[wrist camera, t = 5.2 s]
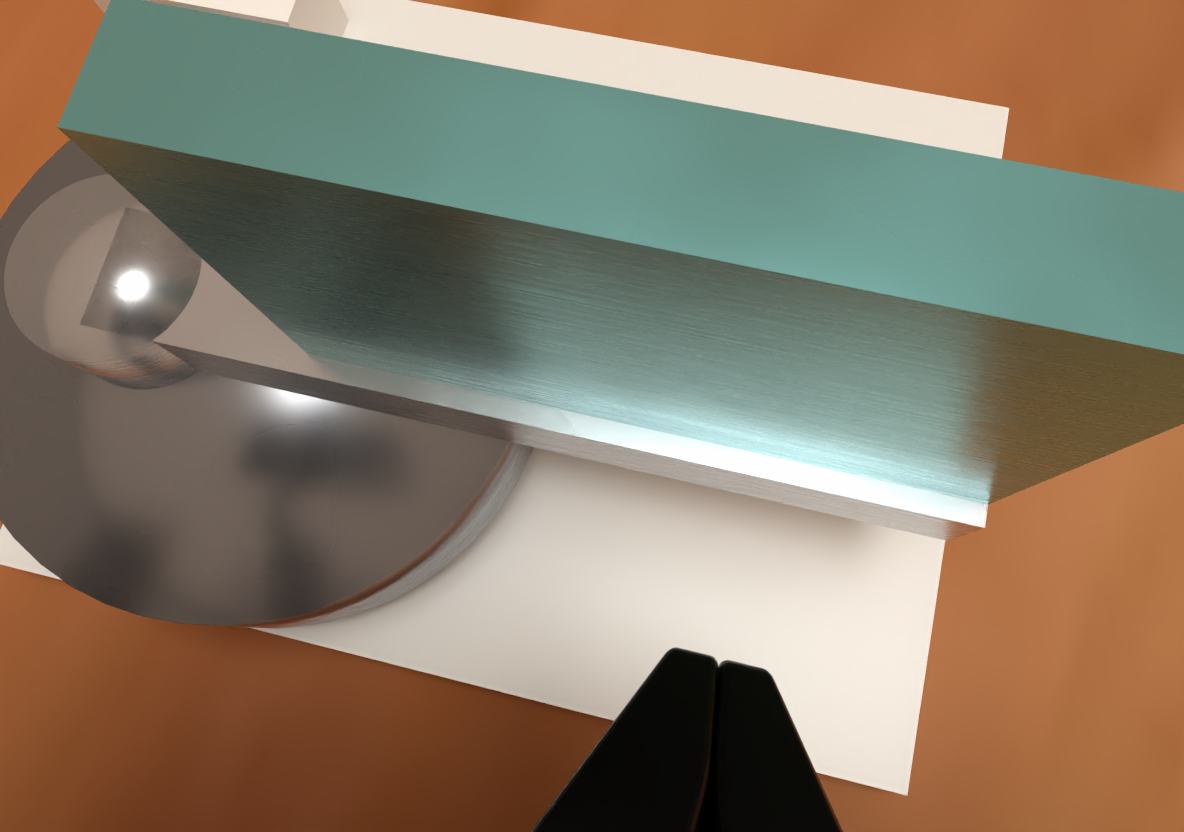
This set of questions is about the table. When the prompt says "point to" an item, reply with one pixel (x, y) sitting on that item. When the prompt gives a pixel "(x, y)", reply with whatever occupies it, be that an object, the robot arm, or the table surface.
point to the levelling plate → (655, 503)
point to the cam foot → (522, 315)
